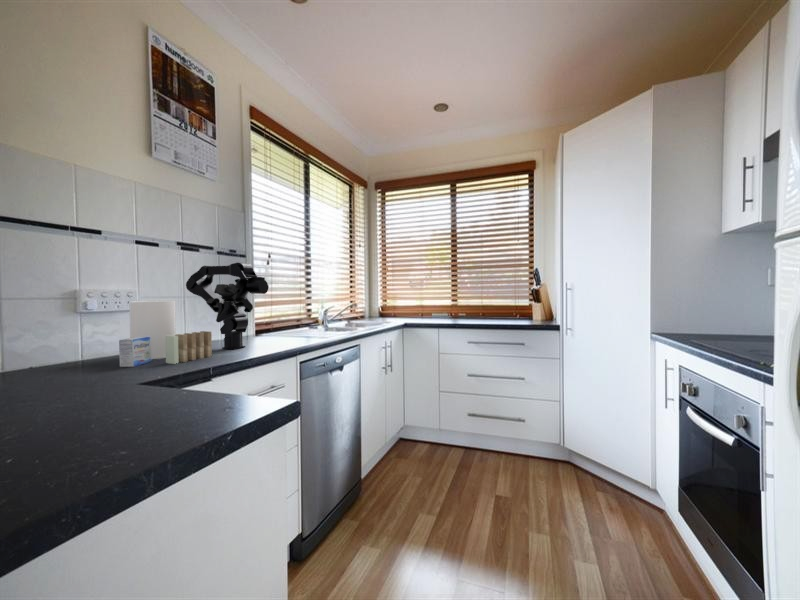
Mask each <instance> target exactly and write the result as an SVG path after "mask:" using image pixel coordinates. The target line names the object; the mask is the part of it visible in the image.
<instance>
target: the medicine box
mask: <svg viewBox="0 0 800 600" xmlns="http://www.w3.org/2000/svg"><path fill="white" fill-rule="evenodd" d="M118 347H119V348H118V350H119V351H118V352H119V353H118V354H119V356H118V357H119V367H120V368H135V367H139V366H141V365H146V364H148V363H151V362H152V359H151V347H150V337H148V336H141V337H134V338H130V337H129V338H123V339H119V340H118Z"/></svg>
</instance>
